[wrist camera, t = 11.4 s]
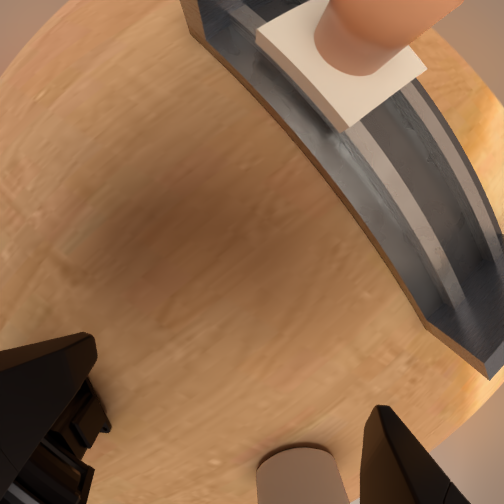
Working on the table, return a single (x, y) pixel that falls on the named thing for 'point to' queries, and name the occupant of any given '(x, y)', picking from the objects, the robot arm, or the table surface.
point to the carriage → (351, 50)
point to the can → (300, 478)
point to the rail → (386, 183)
